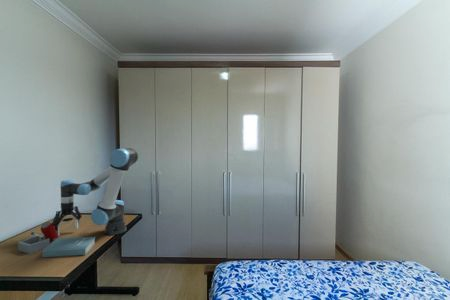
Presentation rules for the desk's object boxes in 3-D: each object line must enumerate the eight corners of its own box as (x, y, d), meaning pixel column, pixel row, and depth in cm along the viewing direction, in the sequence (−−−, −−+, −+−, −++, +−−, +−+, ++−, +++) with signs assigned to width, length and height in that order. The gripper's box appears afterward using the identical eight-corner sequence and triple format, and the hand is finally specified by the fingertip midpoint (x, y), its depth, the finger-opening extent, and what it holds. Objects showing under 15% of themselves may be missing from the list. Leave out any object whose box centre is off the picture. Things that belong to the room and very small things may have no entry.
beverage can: (50, 237, 161) (42, 222, 157) (60, 234, 162) (53, 220, 157) (45, 244, 155) (37, 229, 150) (56, 241, 155) (48, 226, 151)
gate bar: (44, 240, 158) (44, 234, 158) (41, 241, 157) (41, 235, 157) (33, 237, 163) (33, 231, 163) (30, 238, 161) (30, 232, 161)
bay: (58, 244, 153) (58, 236, 153) (31, 254, 139) (31, 246, 139) (44, 240, 159) (44, 233, 158) (17, 250, 145) (17, 242, 144)
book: (95, 244, 156) (95, 236, 155) (85, 255, 140) (85, 247, 140) (57, 246, 152) (57, 238, 152) (42, 258, 136) (42, 249, 136)
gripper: (80, 197, 179) (80, 224, 181) (44, 205, 157) (44, 237, 158) (87, 198, 176) (87, 226, 178) (51, 207, 154) (52, 239, 155)
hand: (67, 231), depth 168 cm, fingers open, 13 cm apart
